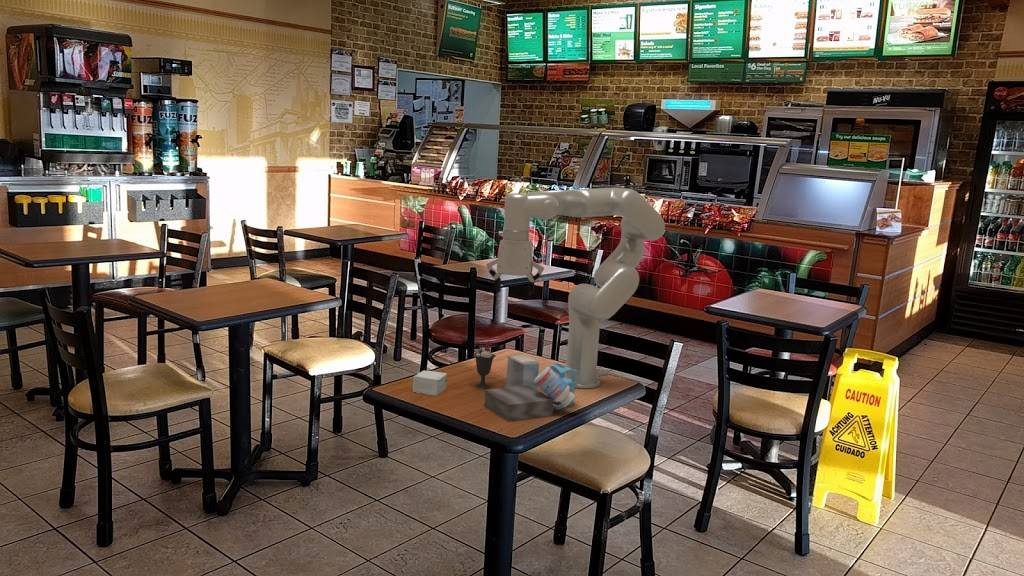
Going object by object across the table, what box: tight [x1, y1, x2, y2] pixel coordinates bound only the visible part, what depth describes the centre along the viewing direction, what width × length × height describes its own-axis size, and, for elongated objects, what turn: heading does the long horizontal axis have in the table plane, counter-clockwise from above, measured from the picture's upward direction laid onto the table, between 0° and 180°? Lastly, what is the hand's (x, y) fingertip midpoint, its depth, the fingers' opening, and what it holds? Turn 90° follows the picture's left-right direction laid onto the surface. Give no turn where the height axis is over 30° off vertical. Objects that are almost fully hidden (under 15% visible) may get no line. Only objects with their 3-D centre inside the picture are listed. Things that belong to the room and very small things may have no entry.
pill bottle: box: [534, 366, 576, 408], centre depth 217 cm, size 6×6×11 cm
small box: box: [412, 369, 448, 397], centre depth 231 cm, size 8×8×5 cm
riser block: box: [484, 385, 555, 422], centre depth 218 cm, size 14×14×5 cm
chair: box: [548, 362, 577, 411], centre depth 225 cm, size 8×8×12 cm
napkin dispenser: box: [505, 354, 540, 391], centre depth 234 cm, size 5×10×10 cm, turn 29°
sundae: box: [473, 340, 497, 390], centre depth 237 cm, size 7×7×15 cm
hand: (513, 293), depth 231 cm, fingers open, 9 cm apart
